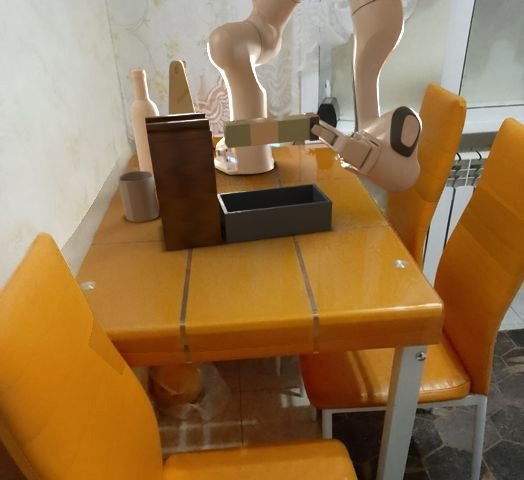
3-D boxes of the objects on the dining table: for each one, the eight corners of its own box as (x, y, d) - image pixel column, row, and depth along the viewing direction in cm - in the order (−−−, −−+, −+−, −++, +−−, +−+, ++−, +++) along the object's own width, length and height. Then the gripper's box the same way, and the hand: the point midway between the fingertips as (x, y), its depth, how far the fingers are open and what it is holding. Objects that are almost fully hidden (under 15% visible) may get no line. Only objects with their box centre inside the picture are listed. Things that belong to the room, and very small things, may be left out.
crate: (313, 210, 125) (314, 183, 121) (331, 230, 114) (332, 201, 110) (218, 221, 121) (216, 193, 117) (227, 243, 110) (224, 213, 106)
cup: (147, 207, 131) (140, 169, 125) (165, 214, 126) (159, 175, 120) (120, 216, 126) (111, 177, 120) (137, 224, 121) (129, 184, 115)
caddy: (186, 143, 184) (175, 50, 166) (214, 142, 183) (206, 49, 166) (172, 166, 161) (157, 61, 143) (204, 165, 160) (193, 59, 142)
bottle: (141, 182, 148) (120, 69, 130) (167, 179, 150) (150, 66, 132) (144, 190, 142) (123, 72, 124) (171, 187, 144) (154, 70, 126)
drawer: (312, 135, 110) (312, 112, 107) (319, 140, 106) (319, 116, 103) (224, 144, 107) (222, 120, 104) (228, 149, 103) (226, 124, 100)
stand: (213, 221, 121) (202, 109, 106) (222, 244, 110) (211, 122, 95) (162, 227, 119) (144, 114, 104) (166, 250, 108) (145, 128, 93)
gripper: (349, 129, 118) (302, 101, 113) (384, 150, 102) (330, 119, 96) (336, 154, 121) (289, 128, 115) (367, 178, 105) (314, 150, 99)
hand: (308, 124), depth 106 cm, fingers closed on drawer, 5 cm apart
